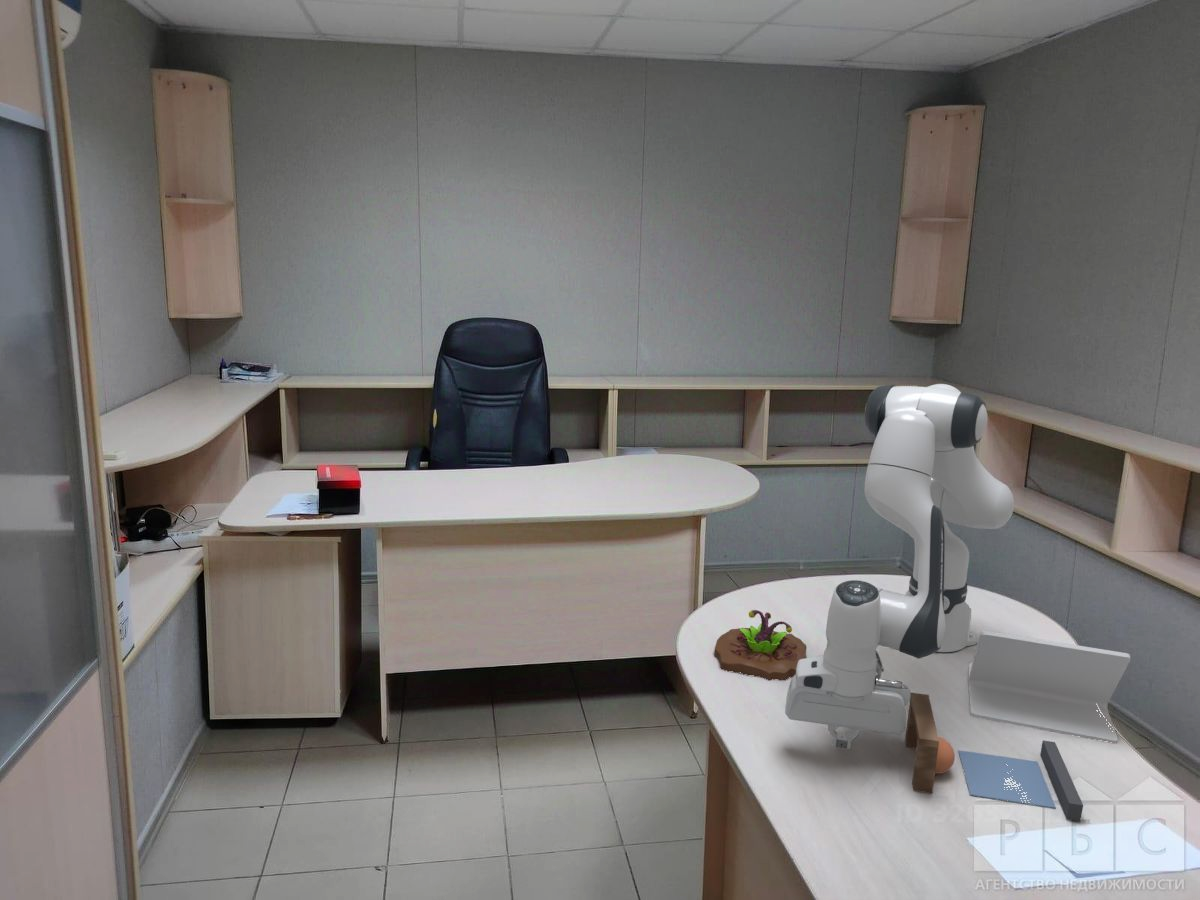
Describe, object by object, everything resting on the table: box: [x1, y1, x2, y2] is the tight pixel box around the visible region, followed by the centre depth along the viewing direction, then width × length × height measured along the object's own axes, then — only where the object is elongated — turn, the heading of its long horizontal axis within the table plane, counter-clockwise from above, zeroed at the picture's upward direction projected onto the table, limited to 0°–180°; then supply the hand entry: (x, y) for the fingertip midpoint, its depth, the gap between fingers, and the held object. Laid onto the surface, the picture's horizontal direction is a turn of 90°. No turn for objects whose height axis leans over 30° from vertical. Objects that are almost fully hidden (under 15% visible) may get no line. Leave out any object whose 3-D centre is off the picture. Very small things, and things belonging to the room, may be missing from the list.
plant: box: [714, 609, 808, 681], centre depth 191 cm, size 20×20×11 cm
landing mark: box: [958, 749, 1057, 810], centre depth 152 cm, size 13×13×1 cm
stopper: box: [1039, 740, 1084, 823], centre depth 150 cm, size 18×2×3 cm, turn 167°
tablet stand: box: [967, 630, 1131, 744], centre depth 173 cm, size 18×25×17 cm
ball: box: [935, 736, 956, 774], centre depth 153 cm, size 6×6×6 cm
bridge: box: [904, 691, 939, 794], centre depth 154 cm, size 3×15×10 cm, turn 167°
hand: (841, 746), depth 157 cm, fingers closed
